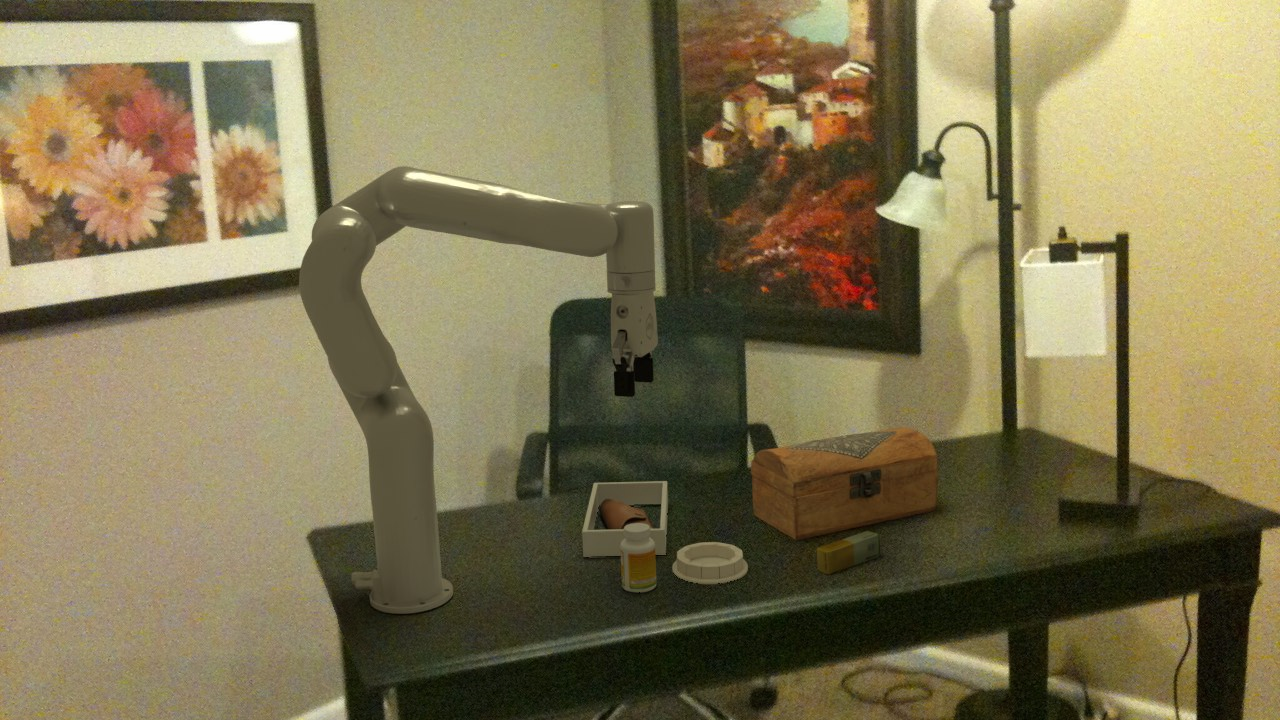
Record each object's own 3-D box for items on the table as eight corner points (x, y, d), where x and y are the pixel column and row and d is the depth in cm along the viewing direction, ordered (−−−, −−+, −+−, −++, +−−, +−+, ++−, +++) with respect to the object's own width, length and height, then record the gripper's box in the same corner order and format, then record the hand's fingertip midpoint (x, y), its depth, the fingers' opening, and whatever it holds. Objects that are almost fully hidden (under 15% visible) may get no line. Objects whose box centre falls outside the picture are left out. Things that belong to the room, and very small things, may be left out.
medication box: (869, 552, 197) (868, 529, 196) (881, 556, 194) (881, 533, 194) (816, 571, 190) (815, 547, 189) (828, 576, 188) (827, 551, 187)
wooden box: (796, 543, 201) (796, 464, 198) (750, 514, 216) (748, 440, 213) (944, 514, 213) (945, 439, 210) (889, 488, 228) (890, 417, 225)
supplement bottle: (663, 585, 186) (661, 526, 184) (639, 596, 182) (637, 536, 180) (639, 576, 190) (636, 518, 187) (614, 587, 186) (612, 528, 184)
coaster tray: (672, 585, 186) (671, 569, 185) (672, 556, 197) (672, 541, 197) (749, 583, 185) (749, 567, 185) (745, 554, 197) (745, 539, 196)
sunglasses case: (665, 544, 203) (644, 513, 201) (631, 568, 202) (610, 538, 200) (644, 510, 220) (624, 482, 218) (612, 532, 220) (592, 504, 218)
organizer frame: (583, 557, 198) (582, 531, 197) (594, 505, 223) (593, 482, 222) (665, 555, 198) (664, 530, 197) (667, 504, 223) (667, 481, 222)
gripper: (637, 290, 177) (640, 403, 181) (669, 274, 193) (672, 377, 197) (589, 290, 180) (593, 400, 183) (625, 273, 196) (629, 375, 199)
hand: (634, 388), depth 190 cm, fingers open, 9 cm apart
